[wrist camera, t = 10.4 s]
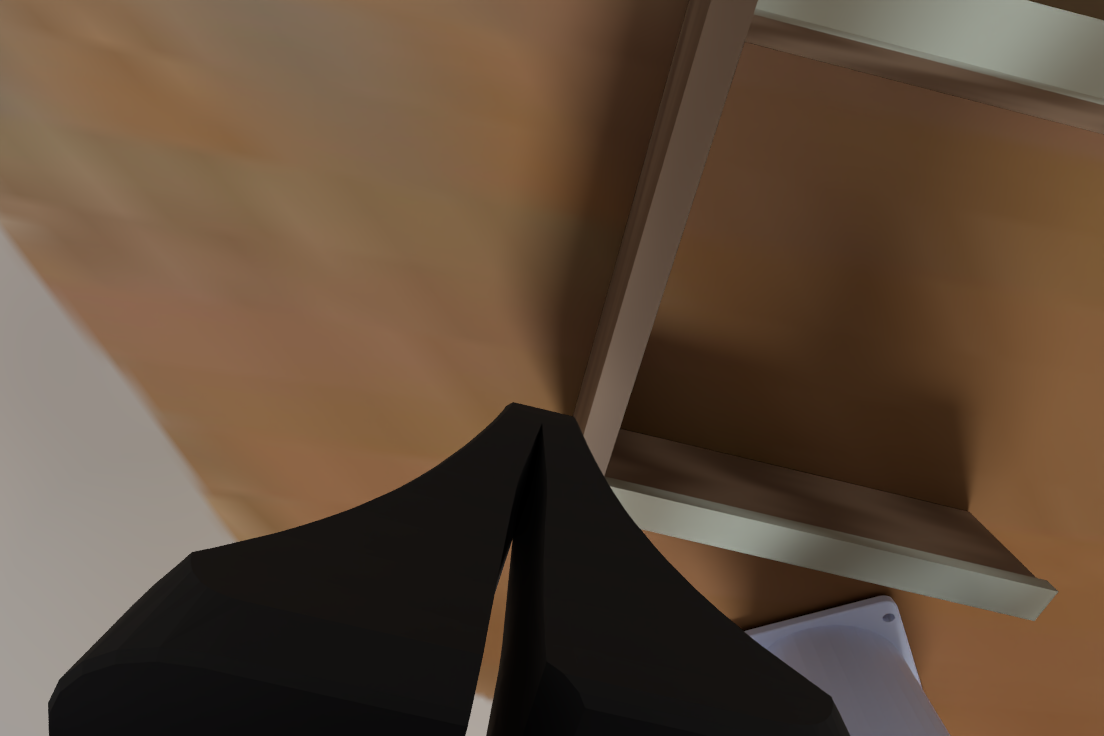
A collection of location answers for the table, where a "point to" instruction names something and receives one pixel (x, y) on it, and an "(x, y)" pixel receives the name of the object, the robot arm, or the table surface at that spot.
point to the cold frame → (655, 232)
